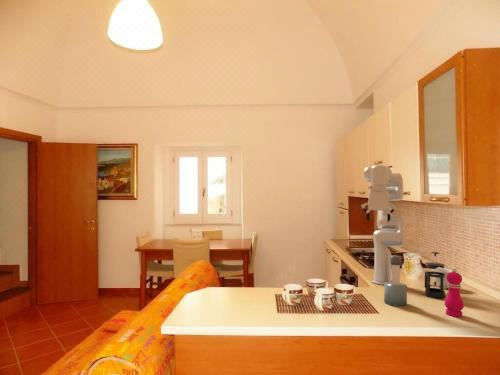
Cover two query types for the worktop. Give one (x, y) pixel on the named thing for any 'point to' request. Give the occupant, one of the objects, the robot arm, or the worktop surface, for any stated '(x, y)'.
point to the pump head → (395, 260)
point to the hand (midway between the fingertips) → (378, 221)
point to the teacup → (443, 278)
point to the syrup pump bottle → (395, 289)
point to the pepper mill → (454, 295)
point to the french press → (435, 292)
